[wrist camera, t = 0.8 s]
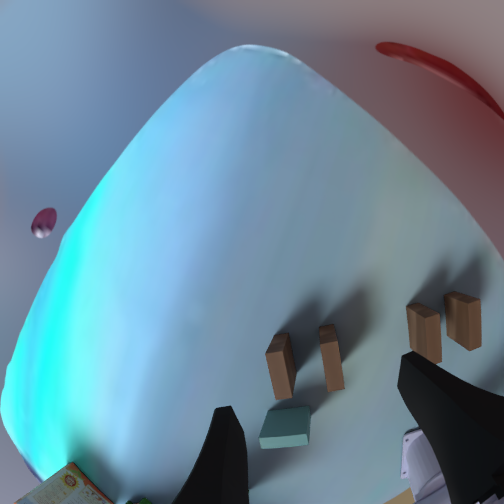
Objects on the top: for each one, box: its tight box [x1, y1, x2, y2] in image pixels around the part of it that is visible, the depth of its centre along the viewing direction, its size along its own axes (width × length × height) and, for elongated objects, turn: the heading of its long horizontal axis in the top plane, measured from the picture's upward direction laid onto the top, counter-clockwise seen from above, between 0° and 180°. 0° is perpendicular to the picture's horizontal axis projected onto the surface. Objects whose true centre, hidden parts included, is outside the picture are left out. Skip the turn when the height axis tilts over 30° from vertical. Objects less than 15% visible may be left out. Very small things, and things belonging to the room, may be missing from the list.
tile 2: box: [406, 303, 442, 364], centre depth 25 cm, size 2×5×6 cm, turn 13°
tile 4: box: [265, 333, 297, 400], centre depth 28 cm, size 2×5×6 cm, turn 13°
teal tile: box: [259, 406, 311, 449], centre depth 28 cm, size 2×5×6 cm, turn 103°
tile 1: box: [444, 291, 481, 351], centre depth 24 cm, size 2×5×6 cm, turn 13°
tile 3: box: [319, 324, 345, 392], centre depth 27 cm, size 2×5×6 cm, turn 13°
